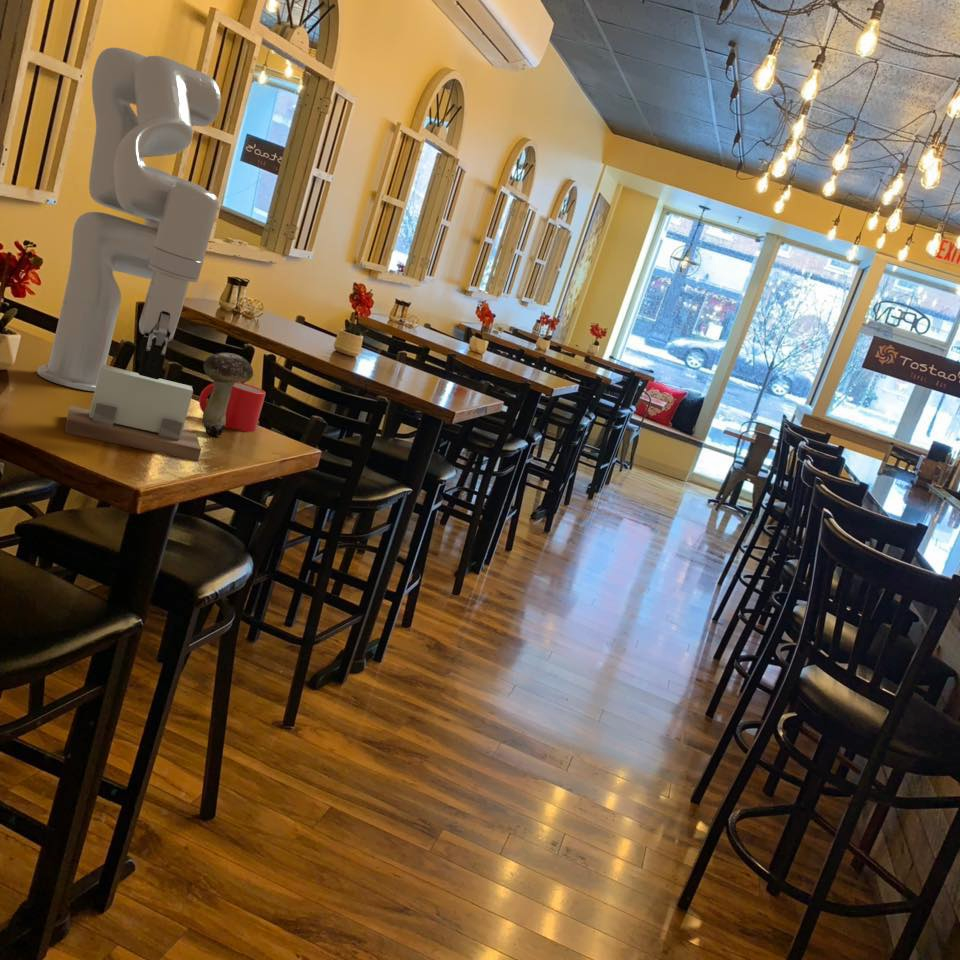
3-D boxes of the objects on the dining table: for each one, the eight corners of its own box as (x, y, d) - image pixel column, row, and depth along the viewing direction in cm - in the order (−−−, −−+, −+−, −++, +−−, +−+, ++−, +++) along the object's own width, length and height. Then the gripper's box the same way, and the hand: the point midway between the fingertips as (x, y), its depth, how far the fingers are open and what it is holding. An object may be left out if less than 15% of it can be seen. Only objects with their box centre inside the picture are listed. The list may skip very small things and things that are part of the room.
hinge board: (67, 417, 150) (74, 387, 149) (193, 444, 158) (200, 416, 158) (64, 432, 141) (71, 401, 140) (198, 460, 150) (205, 431, 149)
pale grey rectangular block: (89, 412, 148) (101, 363, 147) (179, 432, 154) (191, 385, 153) (89, 417, 145) (101, 368, 144) (180, 437, 151) (193, 390, 149)
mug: (190, 411, 182) (200, 373, 181) (249, 423, 189) (259, 386, 187) (199, 422, 176) (209, 382, 174) (260, 434, 182) (270, 396, 181)
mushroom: (221, 429, 176) (242, 353, 173) (245, 444, 171) (266, 365, 168) (176, 423, 169) (196, 343, 166) (198, 438, 164) (220, 356, 161)
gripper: (149, 251, 151) (122, 351, 154) (152, 265, 135) (123, 376, 139) (196, 265, 154) (169, 363, 158) (204, 281, 139) (174, 389, 142)
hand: (147, 369), depth 148 cm, fingers open, 9 cm apart
